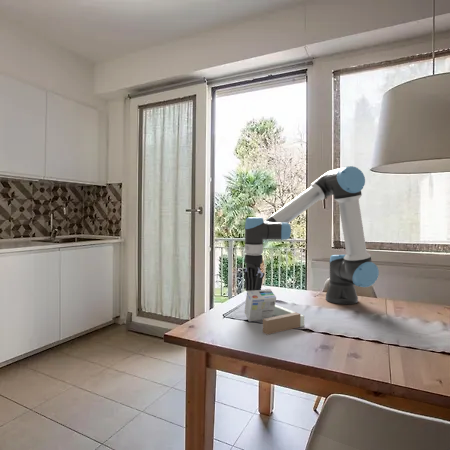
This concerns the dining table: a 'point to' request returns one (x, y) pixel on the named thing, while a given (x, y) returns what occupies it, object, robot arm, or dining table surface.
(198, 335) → the dining table surface
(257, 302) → the light bulb box
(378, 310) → the dining table surface
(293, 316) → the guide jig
